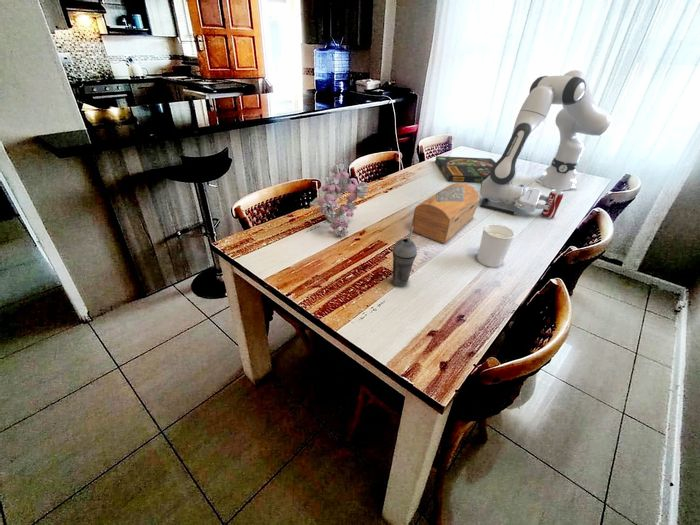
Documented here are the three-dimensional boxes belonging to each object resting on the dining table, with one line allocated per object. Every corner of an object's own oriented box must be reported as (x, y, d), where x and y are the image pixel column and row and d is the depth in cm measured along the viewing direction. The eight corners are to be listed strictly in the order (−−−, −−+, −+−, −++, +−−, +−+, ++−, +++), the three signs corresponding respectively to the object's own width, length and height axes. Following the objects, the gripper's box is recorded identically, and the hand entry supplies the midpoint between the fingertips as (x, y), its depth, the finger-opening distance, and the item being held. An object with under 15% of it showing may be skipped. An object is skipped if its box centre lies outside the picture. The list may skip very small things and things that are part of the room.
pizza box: (511, 184, 179) (513, 178, 177) (448, 181, 179) (449, 175, 177) (489, 164, 208) (491, 158, 206) (435, 161, 208) (436, 156, 206)
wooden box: (440, 207, 151) (447, 178, 143) (475, 218, 143) (483, 188, 135) (407, 230, 131) (412, 198, 124) (444, 244, 123) (452, 211, 115)
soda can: (555, 219, 145) (566, 194, 138) (542, 218, 145) (553, 193, 139) (551, 214, 149) (562, 189, 142) (539, 213, 150) (549, 188, 143)
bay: (487, 195, 164) (488, 193, 164) (519, 203, 158) (520, 201, 158) (480, 206, 153) (480, 204, 152) (513, 215, 147) (514, 212, 146)
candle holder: (503, 256, 118) (513, 227, 111) (504, 271, 110) (515, 240, 104) (475, 250, 120) (483, 221, 114) (474, 264, 113) (483, 234, 106)
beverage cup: (386, 275, 106) (393, 220, 94) (408, 275, 106) (417, 220, 95) (390, 290, 100) (398, 233, 88) (413, 289, 100) (424, 233, 89)
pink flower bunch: (290, 227, 126) (311, 178, 109) (316, 200, 142) (338, 154, 125) (333, 255, 127) (361, 211, 109) (354, 226, 143) (381, 183, 125)
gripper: (514, 197, 141) (549, 205, 135) (521, 183, 155) (553, 189, 150) (509, 210, 145) (544, 218, 139) (517, 195, 159) (548, 202, 153)
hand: (549, 203), depth 144 cm, fingers open, 8 cm apart
